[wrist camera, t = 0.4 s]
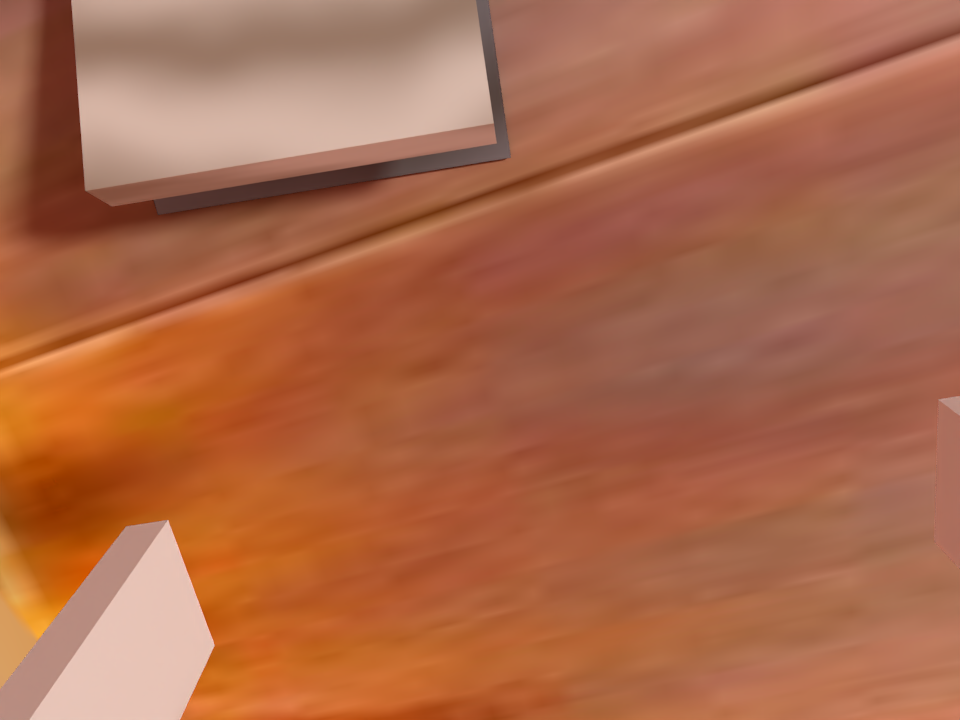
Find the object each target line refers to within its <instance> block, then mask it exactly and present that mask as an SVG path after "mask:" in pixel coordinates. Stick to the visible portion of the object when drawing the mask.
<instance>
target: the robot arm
mask: <svg viewBox="0 0 960 720" xmlns="http://www.w3.org/2000/svg"><path fill="white" fill-rule="evenodd" d="M934 542H935V543H936V544H937V545H938V546H939V547H940V548H941V549H942V550H943V552H944V553H945V554H946V555H947V556H948V557H949V558H950V559H951V560H952V561H953V562H954V563H955V564H956V566H957V567H958V568H959V569H960V396H958V397H952V398H945V399H939V400H938V427H937V465H936V503H935V540H934ZM213 648H214V642H213V640H212V637H211V634H210V632H209V629H208V626H207V624H206V621H205V618H204V616H203V613H202V610H201V608H200V605H199V602H198V599H197V597H196V594H195V591H194V589H193V586H192V583H191V581H190V578H189V575H188V573H187V570H186V567H185V564H184V562H183V559H182V556H181V554H180V551H179V548H178V546H177V543H176V540H175V538H174V535H173V532H172V530H171V527H170V524H169V521H168V520H165V521H158V522H152V523H145V524H139V525H133V526H126V527H125V529H124V530H123V531H122V533H121V534H120V535H119V536H118V538H117V539H116V540H115V542H114V543H113V544H112V546H111V547H110V548H109V549H108V551H107V552H106V553H105V555H104V556H103V557H102V558H101V560H100V561H99V562H98V564H97V565H96V566H95V567H94V569H93V570H92V571H91V573H90V574H89V575H88V577H87V578H86V579H85V580H84V582H83V583H82V584H81V586H80V587H79V588H78V589H77V591H76V592H75V593H74V595H73V596H72V597H71V599H70V600H69V601H68V602H67V604H66V605H65V606H64V608H63V609H62V610H61V611H60V613H59V614H58V615H57V617H56V618H55V619H54V621H53V622H52V623H51V624H50V626H49V627H48V628H47V630H46V631H45V632H44V633H43V635H42V636H41V637H40V639H39V640H38V641H37V643H36V644H35V645H34V647H33V648H32V649H31V650H30V652H29V653H28V654H27V656H26V657H25V658H24V659H23V661H22V662H21V663H20V665H19V666H18V667H17V668H16V670H15V671H14V672H13V674H12V675H11V676H10V678H9V679H8V680H7V681H6V683H5V684H4V685H3V687H2V688H1V689H0V720H180V719H181V716H182V714H183V712H184V710H185V708H186V706H187V704H188V701H189V699H190V697H191V695H192V693H193V691H194V688H195V686H196V684H197V682H198V680H199V678H200V676H201V673H202V671H203V669H204V667H205V665H206V663H207V661H208V658H209V656H210V654H211V652H212V650H213Z"/></svg>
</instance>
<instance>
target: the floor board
mask: <svg viewBox="0 0 960 720" xmlns="http://www.w3.org/2000/svg"><path fill="white" fill-rule="evenodd" d="M476 5H477V12H478V19H479V26H480V32H481V39H482V46H483V53H484V60H485V67H486V73H487V80H488V87H489V94H490V101H491V108H492V114H493V121H494V128H495V135H496V142H497V144H491V145H484V146H478V147H472V148H466V149H460V150H454V151H448V152H442V153H436V154H430V155H423V156H417V157H411V158H405V159H399V160H393V161H387V162H381V163H375V164H369V165H362V166H356V167H350V168H344V169H338V170H332V171H326V172H320V173H314V174H308V175H302V176H295V177H289V178H283V179H277V180H271V181H265V182H259V183H253V184H247V185H241V186H234V187H228V188H222V189H216V190H210V191H204V192H198V193H192V194H186V195H180V196H173V197H167V198H161V199H155V200H154V203H155V206H156V210H157V213H158V215H161V214H167V213H173V212H179V211H185V210H192V209H198V208H204V207H210V206H216V205H222V204H228V203H235V202H241V201H247V200H253V199H259V198H265V197H272V196H278V195H284V194H290V193H296V192H302V191H308V190H315V189H321V188H327V187H333V186H339V185H345V184H351V183H358V182H364V181H370V180H376V179H382V178H388V177H394V176H401V175H407V174H413V173H419V172H425V171H431V170H438V169H444V168H450V167H456V166H462V165H468V164H474V163H481V162H487V161H493V160H499V159H505V158H511V156H510V149H509V142H508V135H507V128H506V121H505V114H504V107H503V100H502V93H501V86H500V79H499V72H498V65H497V58H496V51H495V44H494V37H493V29H492V22H491V15H490V8H489V1H488V0H476Z"/></svg>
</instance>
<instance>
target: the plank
mask: <svg viewBox="0 0 960 720" xmlns="http://www.w3.org/2000/svg"><path fill="white" fill-rule="evenodd" d="M71 3H72V16H73V30H74V44H75V58H76V71H77V85H78V99H79V113H80V126H81V140H82V154H83V168H84V181H85V191H86V192H88V193H90V194H91V195H93V196H95V197H96V198H98V199H100V200H102V201H103V202H105V203H107V204H109V205H110V206H119V205H125V204H131V203H137V202H143V201H149V200H155V199H161V198H167V197H173V196H180V195H186V194H192V193H198V192H204V191H210V190H216V189H222V188H228V187H234V186H241V185H247V184H253V183H259V182H265V181H271V180H277V179H283V178H289V177H295V176H302V175H308V174H314V173H320V172H326V171H332V170H338V169H344V168H350V167H356V166H362V165H369V164H375V163H381V162H387V161H393V160H399V159H405V158H411V157H417V156H423V155H430V154H436V153H442V152H448V151H454V150H460V149H466V148H472V147H478V146H484V145H491V144H497V142H496V135H495V128H494V121H493V114H492V108H491V101H490V94H489V87H488V80H487V73H486V67H485V60H484V53H483V46H482V39H481V32H480V26H479V19H478V12H477V5H476V0H71Z"/></svg>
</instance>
